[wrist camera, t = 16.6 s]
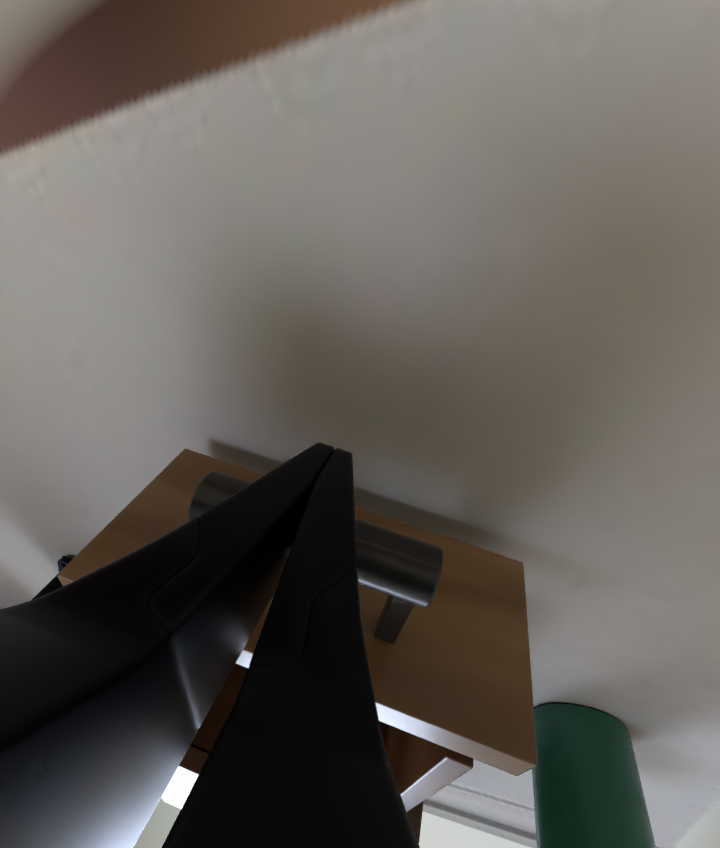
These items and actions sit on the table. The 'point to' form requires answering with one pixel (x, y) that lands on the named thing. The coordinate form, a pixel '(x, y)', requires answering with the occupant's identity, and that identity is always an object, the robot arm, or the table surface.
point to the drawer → (385, 631)
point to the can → (586, 781)
